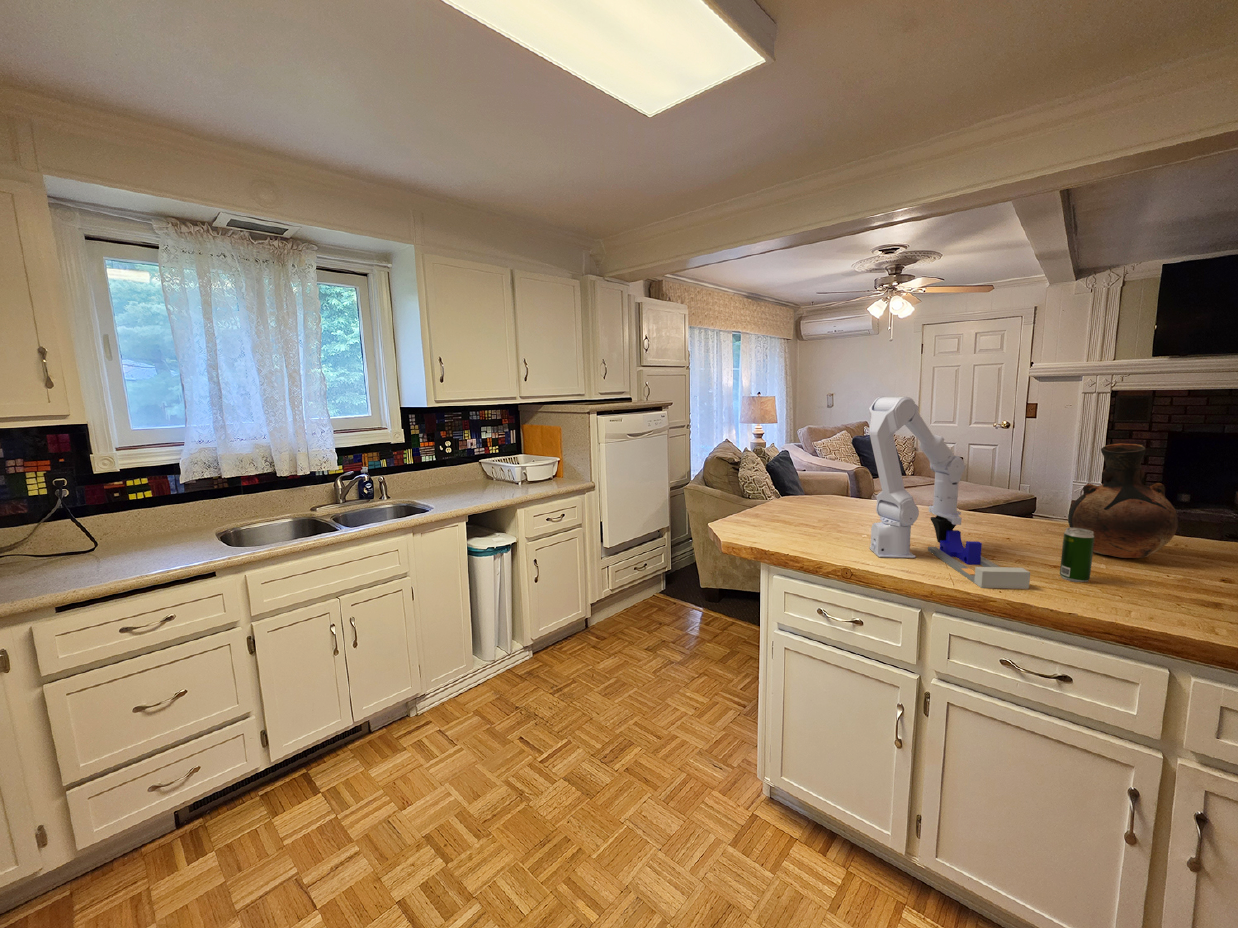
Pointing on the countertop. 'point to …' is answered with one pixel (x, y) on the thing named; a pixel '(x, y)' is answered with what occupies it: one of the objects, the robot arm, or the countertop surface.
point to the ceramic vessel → (1125, 507)
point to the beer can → (1077, 554)
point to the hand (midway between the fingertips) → (942, 542)
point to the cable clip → (961, 548)
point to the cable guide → (988, 572)
